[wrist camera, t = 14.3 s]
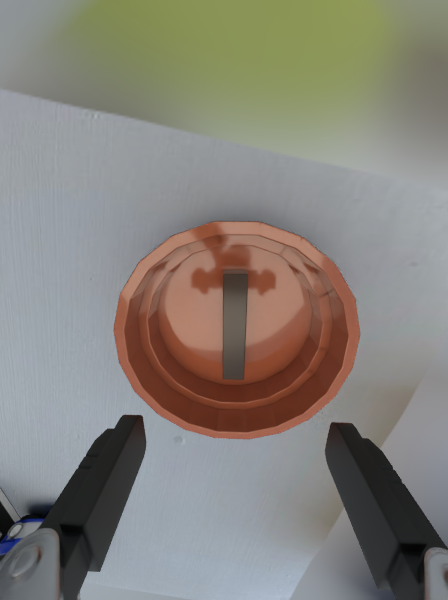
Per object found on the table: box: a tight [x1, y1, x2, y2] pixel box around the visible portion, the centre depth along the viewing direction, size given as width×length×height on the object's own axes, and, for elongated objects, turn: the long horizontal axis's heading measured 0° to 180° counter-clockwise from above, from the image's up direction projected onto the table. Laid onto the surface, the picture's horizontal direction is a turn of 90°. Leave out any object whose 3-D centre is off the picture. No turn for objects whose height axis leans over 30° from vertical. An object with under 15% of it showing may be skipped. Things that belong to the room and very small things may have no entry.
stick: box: [223, 270, 248, 380], centre depth 20 cm, size 2×10×2 cm, turn 0°
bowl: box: [114, 221, 360, 439], centre depth 18 cm, size 18×18×6 cm
